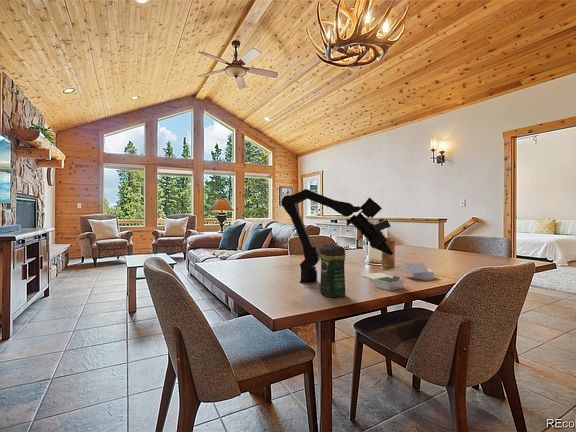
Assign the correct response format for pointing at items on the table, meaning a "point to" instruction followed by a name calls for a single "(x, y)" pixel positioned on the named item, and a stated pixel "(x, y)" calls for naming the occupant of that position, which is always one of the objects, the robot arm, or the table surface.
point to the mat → (375, 275)
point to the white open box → (388, 283)
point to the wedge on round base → (419, 271)
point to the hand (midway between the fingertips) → (391, 253)
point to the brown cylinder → (389, 256)
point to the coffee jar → (332, 271)
